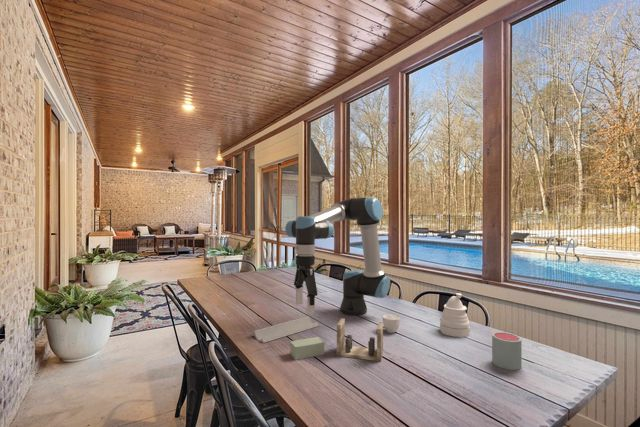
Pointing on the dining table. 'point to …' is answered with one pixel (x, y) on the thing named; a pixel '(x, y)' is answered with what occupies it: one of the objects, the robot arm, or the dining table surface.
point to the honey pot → (455, 318)
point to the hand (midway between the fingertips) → (304, 308)
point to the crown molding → (283, 329)
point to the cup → (391, 322)
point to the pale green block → (306, 348)
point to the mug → (506, 350)
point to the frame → (359, 352)
